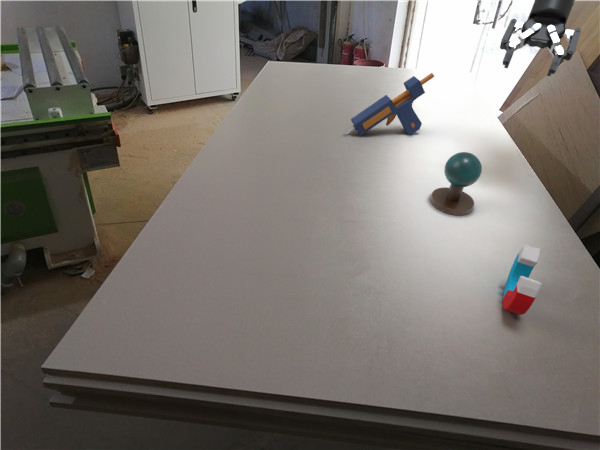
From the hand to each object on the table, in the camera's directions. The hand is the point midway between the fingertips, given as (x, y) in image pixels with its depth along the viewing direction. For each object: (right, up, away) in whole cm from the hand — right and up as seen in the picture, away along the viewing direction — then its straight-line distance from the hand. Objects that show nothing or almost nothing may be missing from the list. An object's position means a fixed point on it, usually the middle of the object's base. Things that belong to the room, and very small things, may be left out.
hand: (527, 70), depth 86 cm
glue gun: (-22, -4, +43) cm, 48 cm away
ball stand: (-11, -28, +13) cm, 33 cm away
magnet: (-10, -47, -12) cm, 50 cm away
